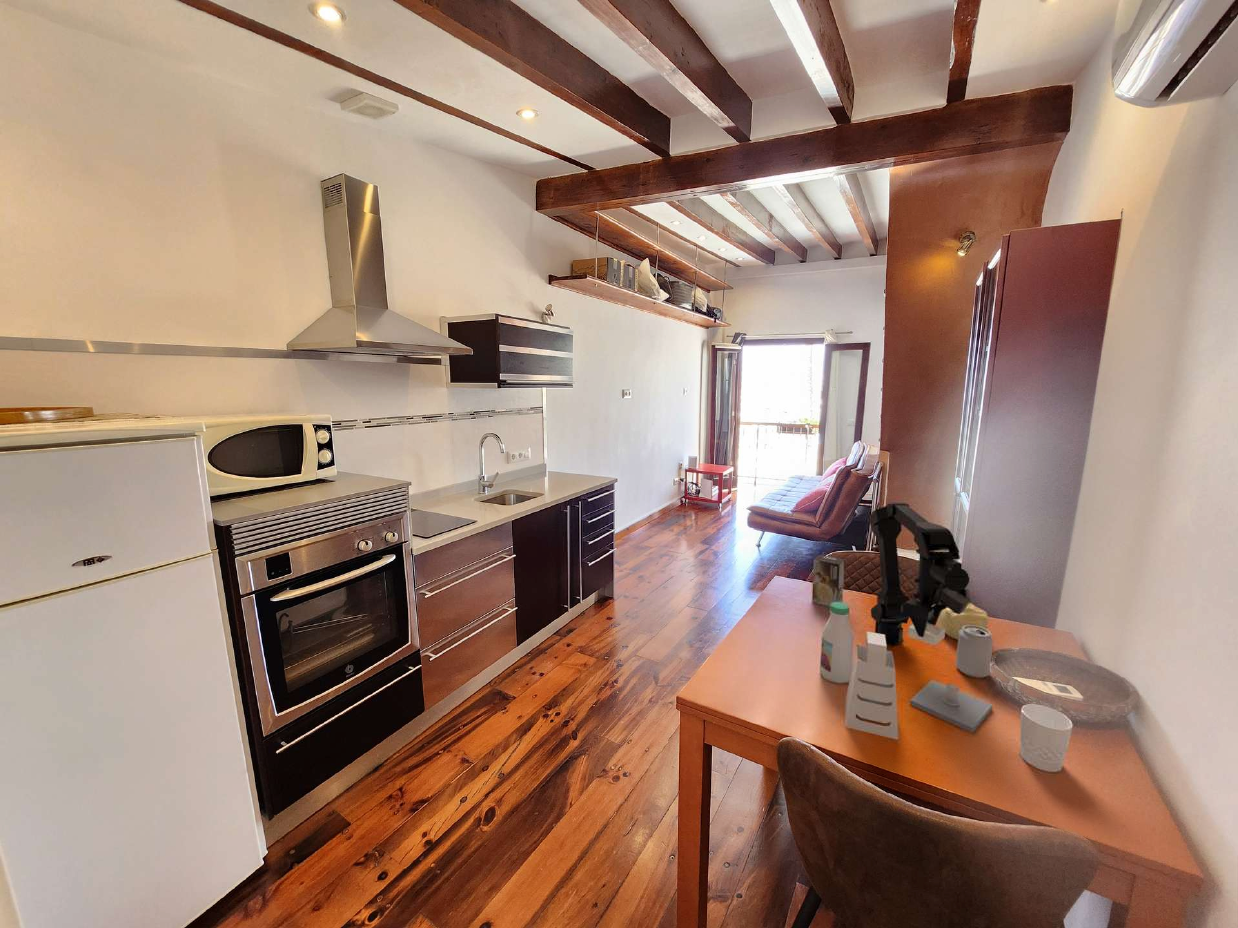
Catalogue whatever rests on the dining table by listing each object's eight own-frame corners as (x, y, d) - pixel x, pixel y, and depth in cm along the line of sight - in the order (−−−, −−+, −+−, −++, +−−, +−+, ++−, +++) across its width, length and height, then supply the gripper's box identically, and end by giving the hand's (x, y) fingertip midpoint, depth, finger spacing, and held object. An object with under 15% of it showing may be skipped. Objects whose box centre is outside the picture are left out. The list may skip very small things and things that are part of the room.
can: (995, 680, 130) (1000, 638, 128) (963, 677, 131) (967, 635, 129) (980, 665, 137) (985, 624, 135) (950, 662, 139) (954, 621, 137)
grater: (894, 710, 119) (900, 632, 115) (898, 739, 109) (905, 654, 106) (845, 700, 123) (850, 624, 120) (845, 726, 113) (851, 645, 110)
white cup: (1006, 747, 106) (1011, 705, 105) (1040, 745, 107) (1046, 702, 105) (1040, 776, 99) (1046, 730, 97) (1076, 773, 99) (1083, 728, 98)
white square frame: (907, 635, 131) (908, 627, 131) (917, 628, 135) (918, 619, 135) (934, 645, 126) (935, 636, 126) (944, 637, 130) (945, 628, 130)
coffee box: (843, 602, 176) (846, 559, 174) (837, 609, 171) (840, 564, 169) (817, 596, 182) (819, 553, 180) (810, 602, 177) (813, 558, 175)
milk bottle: (851, 671, 135) (856, 601, 132) (851, 687, 128) (856, 613, 125) (820, 665, 138) (824, 596, 135) (818, 680, 131) (822, 608, 128)
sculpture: (950, 645, 148) (953, 610, 146) (930, 625, 159) (933, 593, 158) (992, 647, 146) (996, 612, 144) (968, 627, 158) (972, 595, 156)
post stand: (909, 704, 121) (911, 684, 120) (931, 683, 129) (933, 665, 128) (972, 733, 111) (974, 711, 110) (992, 709, 119) (994, 689, 118)
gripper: (953, 594, 116) (947, 657, 119) (980, 575, 128) (974, 632, 130) (902, 580, 125) (897, 639, 127) (932, 564, 136) (927, 617, 139)
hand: (926, 632), depth 131 cm, fingers closed on white square frame, 6 cm apart
